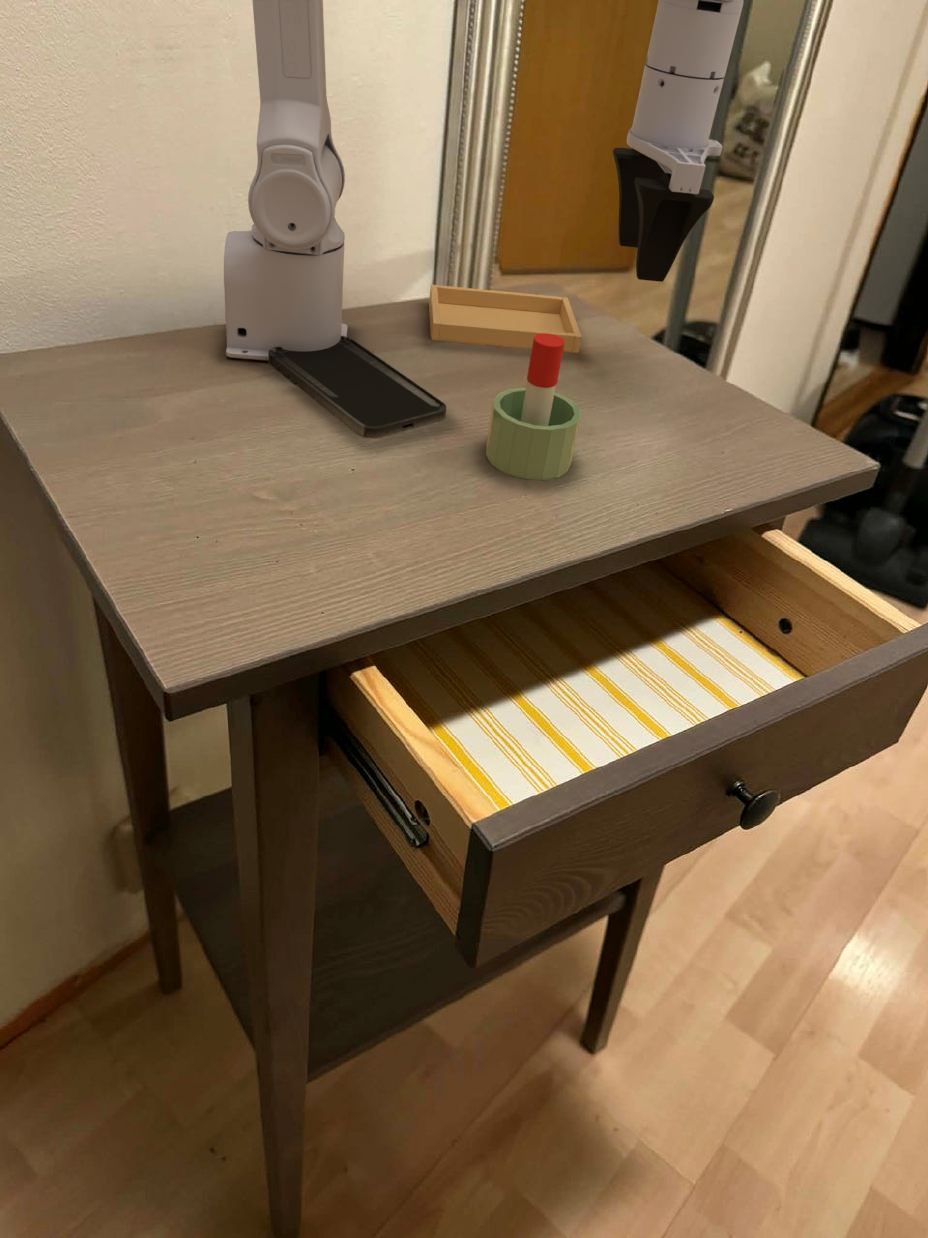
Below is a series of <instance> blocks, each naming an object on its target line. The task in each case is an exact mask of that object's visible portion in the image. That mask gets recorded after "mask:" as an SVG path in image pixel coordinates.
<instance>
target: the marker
mask: <svg viewBox="0 0 928 1238" xmlns="http://www.w3.org/2000/svg"><path fill="white" fill-rule="evenodd" d="M564 344H565V341H564V340H563V339H562V338H561V337H559V336H557V335H553V334H547V333H542V334H537V335H535V336H534V339H533V345H532V349H531V352H530V357H529V362H528V363H529V364H528V368H527V369H528V371H527V375H526V380H527V381H526V386H525V387H526V391H525V397H524V403H523V409H522V415H521V422H525V423H528V424H532V425H540V426H548V424H549V419H550V414H551V408H552V403H553V398H554V393H555V392H556V387H557V385H558V381H559V375H560V369H561V366H562V365H561V364H562V359H563V354H564V352H563V349H564Z"/></svg>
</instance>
